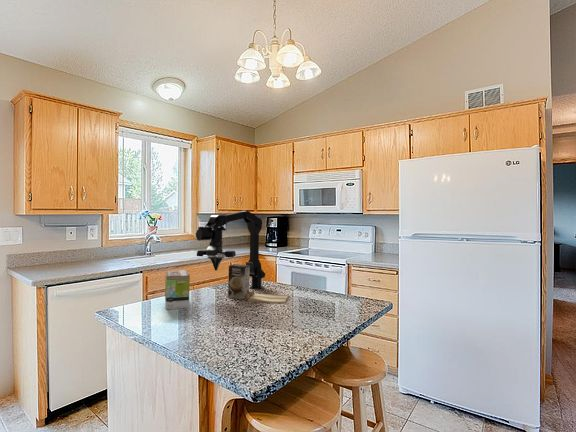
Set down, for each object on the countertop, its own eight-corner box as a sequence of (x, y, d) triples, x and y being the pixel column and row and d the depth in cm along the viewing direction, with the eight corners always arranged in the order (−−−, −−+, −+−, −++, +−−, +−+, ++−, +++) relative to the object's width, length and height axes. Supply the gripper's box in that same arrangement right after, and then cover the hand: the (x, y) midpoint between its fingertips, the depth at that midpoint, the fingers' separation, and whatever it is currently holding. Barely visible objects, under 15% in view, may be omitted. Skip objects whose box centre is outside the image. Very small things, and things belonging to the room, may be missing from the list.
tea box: (189, 308, 146) (190, 274, 146) (165, 310, 142) (165, 276, 142) (186, 299, 160) (187, 269, 160) (164, 301, 156) (165, 270, 156)
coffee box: (227, 297, 164) (227, 265, 164) (233, 294, 170) (233, 263, 170) (244, 299, 162) (244, 266, 161) (249, 296, 168) (250, 264, 168)
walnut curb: (251, 294, 172) (251, 289, 172) (254, 294, 172) (254, 289, 172) (244, 301, 158) (244, 296, 158) (247, 301, 158) (247, 296, 158)
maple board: (253, 295, 171) (253, 293, 171) (288, 296, 168) (288, 295, 168) (247, 301, 158) (247, 300, 158) (284, 303, 155) (284, 301, 155)
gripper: (192, 240, 161) (191, 272, 161) (229, 241, 158) (228, 274, 158) (201, 238, 172) (200, 268, 172) (236, 239, 169) (235, 270, 169)
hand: (216, 270), depth 167 cm, fingers closed
